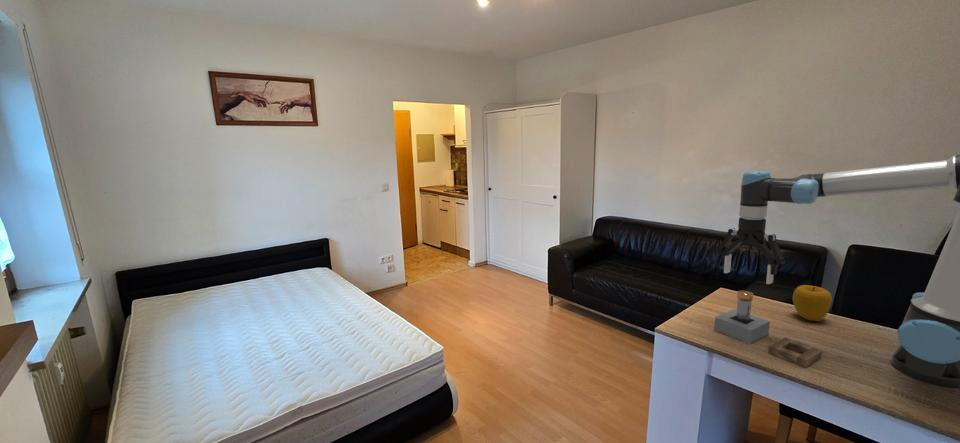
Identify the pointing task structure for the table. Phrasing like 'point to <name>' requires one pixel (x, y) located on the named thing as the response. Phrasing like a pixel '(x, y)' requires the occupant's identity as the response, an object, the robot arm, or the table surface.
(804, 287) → the apple
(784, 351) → the mount
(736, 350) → the table surface
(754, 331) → the socket
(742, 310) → the pin
